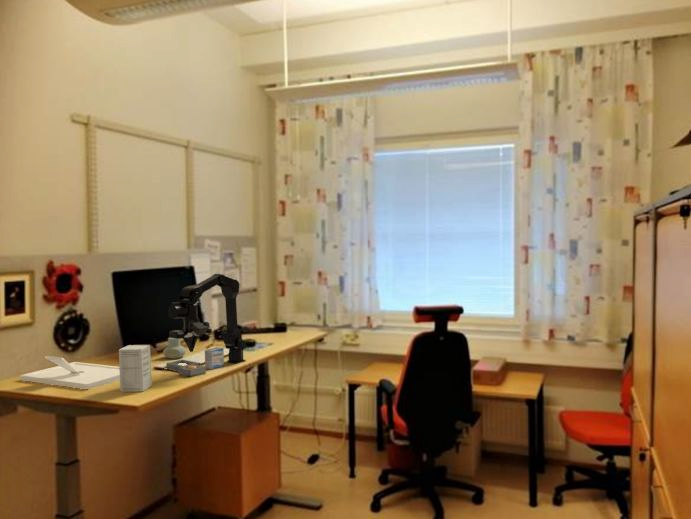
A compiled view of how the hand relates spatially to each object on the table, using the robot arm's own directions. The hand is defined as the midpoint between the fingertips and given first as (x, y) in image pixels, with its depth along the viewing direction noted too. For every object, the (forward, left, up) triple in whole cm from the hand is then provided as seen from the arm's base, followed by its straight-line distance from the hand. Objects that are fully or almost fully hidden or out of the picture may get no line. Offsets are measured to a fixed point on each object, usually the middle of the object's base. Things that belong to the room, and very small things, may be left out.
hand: (191, 351), depth 250 cm
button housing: (0, 0, -10) cm, 10 cm away
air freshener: (-17, -36, -10) cm, 41 cm away
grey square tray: (-5, -13, -10) cm, 17 cm away
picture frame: (+31, -36, -11) cm, 49 cm away
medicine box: (-14, -2, -10) cm, 18 cm away
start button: (0, 0, -9) cm, 9 cm away
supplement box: (+28, +1, -10) cm, 30 cm away
